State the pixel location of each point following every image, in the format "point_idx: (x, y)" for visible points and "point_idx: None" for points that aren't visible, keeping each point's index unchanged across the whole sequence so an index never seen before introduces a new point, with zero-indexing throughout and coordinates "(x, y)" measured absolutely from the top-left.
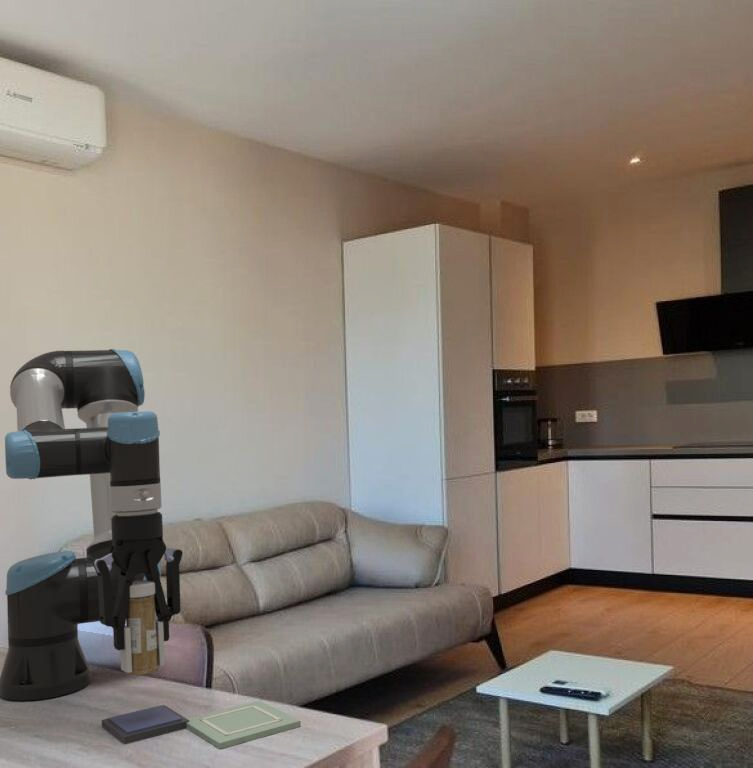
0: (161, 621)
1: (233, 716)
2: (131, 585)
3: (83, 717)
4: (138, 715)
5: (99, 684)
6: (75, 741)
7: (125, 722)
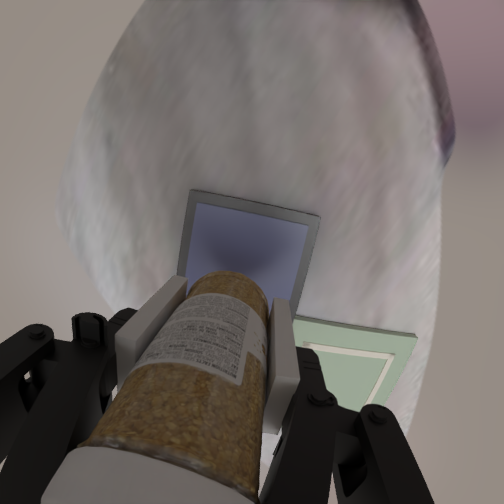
0: (278, 426)
1: (344, 367)
2: None
3: (201, 108)
4: (242, 242)
5: None
6: (131, 221)
7: (204, 256)
